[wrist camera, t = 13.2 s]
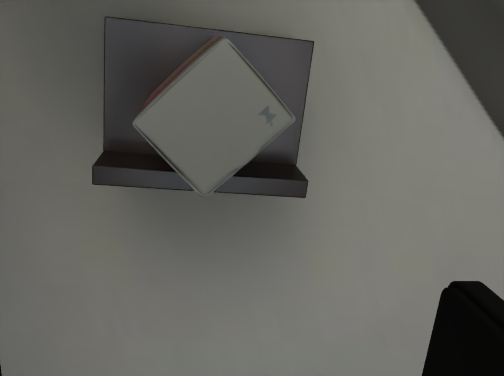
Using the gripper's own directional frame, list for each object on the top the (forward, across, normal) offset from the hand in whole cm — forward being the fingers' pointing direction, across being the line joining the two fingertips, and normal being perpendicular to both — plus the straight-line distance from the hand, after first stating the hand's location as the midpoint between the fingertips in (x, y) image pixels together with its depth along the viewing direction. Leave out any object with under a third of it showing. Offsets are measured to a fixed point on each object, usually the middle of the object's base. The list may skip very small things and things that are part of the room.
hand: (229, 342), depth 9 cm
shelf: (+22, 0, -2) cm, 22 cm away
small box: (+18, 0, -3) cm, 18 cm away
